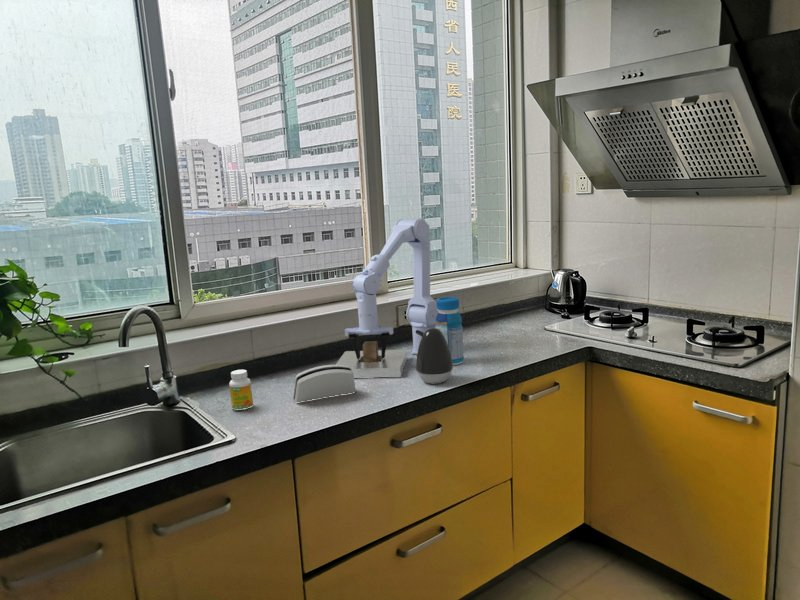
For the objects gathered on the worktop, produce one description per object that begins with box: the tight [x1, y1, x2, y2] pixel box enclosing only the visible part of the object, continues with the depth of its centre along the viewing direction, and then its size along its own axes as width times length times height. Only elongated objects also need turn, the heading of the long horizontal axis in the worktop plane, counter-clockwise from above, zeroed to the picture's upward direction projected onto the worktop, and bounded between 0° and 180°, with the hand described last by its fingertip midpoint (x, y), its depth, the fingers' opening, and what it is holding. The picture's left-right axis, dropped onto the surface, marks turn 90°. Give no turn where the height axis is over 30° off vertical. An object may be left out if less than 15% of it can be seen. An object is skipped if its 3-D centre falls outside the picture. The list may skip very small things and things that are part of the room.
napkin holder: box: [292, 364, 357, 403], centre depth 159 cm, size 17×5×10 cm, turn 111°
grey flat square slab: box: [335, 349, 408, 379], centre depth 183 cm, size 20×20×3 cm
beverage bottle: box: [435, 296, 465, 366], centre depth 183 cm, size 8×8×20 cm
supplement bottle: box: [228, 369, 254, 409], centre depth 155 cm, size 5×5×10 cm
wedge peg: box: [362, 340, 379, 362], centre depth 183 cm, size 4×4×8 cm
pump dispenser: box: [415, 328, 454, 384], centre depth 166 cm, size 10×10×15 cm
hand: (371, 357), depth 183 cm, fingers open, 7 cm apart
